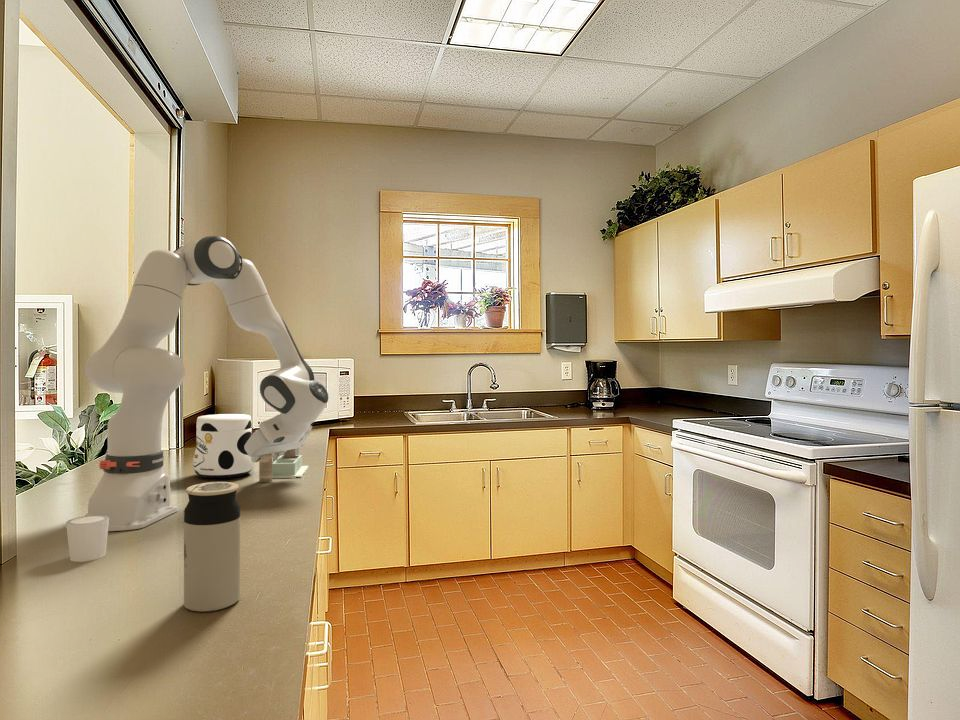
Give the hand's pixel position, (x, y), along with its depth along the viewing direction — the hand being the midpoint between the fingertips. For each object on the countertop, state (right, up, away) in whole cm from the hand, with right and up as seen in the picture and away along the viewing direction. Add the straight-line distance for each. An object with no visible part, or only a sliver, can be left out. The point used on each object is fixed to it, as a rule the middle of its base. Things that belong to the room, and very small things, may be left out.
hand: (264, 458), depth 183 cm
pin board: (+3, -6, +12) cm, 14 cm away
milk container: (-15, -6, +7) cm, 17 cm away
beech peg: (0, -7, 0) cm, 7 cm away
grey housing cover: (-2, -6, +27) cm, 28 cm away
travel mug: (+22, -9, -86) cm, 89 cm away
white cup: (-10, -8, -66) cm, 67 cm away
